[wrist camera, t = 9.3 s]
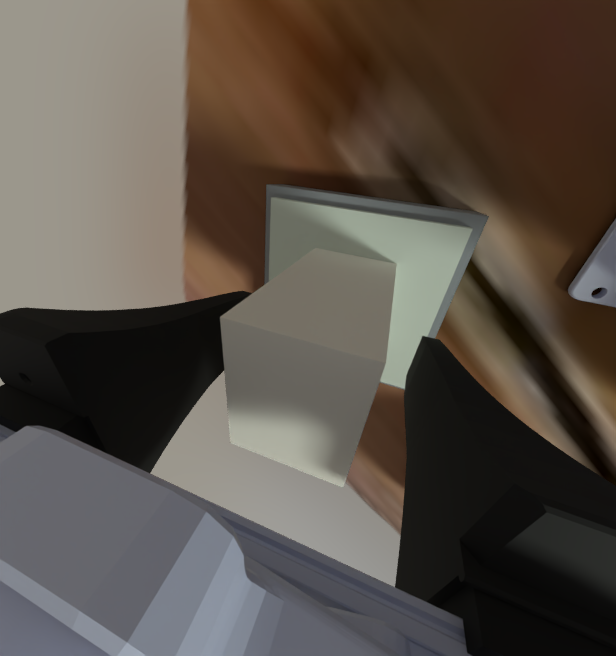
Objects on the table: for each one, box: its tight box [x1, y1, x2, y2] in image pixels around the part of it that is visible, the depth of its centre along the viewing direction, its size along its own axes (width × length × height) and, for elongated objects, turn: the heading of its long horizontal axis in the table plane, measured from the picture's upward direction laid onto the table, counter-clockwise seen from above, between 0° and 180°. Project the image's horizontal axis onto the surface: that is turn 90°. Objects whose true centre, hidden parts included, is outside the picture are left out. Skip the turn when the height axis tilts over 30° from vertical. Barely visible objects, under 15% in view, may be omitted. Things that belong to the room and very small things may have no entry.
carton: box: [220, 248, 397, 488], centre depth 10 cm, size 4×5×8 cm
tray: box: [265, 184, 489, 390], centre depth 15 cm, size 10×10×2 cm
